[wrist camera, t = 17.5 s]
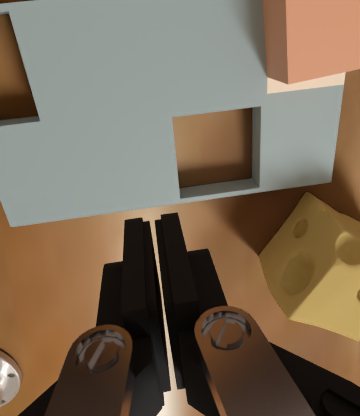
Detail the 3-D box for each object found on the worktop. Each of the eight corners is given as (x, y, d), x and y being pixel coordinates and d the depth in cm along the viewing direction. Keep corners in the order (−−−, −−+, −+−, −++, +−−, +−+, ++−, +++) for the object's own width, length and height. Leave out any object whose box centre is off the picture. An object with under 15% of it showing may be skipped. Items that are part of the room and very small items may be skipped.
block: (266, 77, 29) (288, 84, 25) (261, -20, 25) (284, -29, 22) (346, 59, 29) (379, 64, 25) (351, -39, 26) (390, -52, 22)
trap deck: (18, 214, 35) (10, 227, 32) (-56, 12, 26) (-74, 10, 24) (319, 173, 37) (331, 182, 34) (341, -27, 28) (358, -32, 26)
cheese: (304, 188, 37) (357, 236, 29) (371, 224, 41) (436, 277, 32) (251, 258, 41) (283, 320, 32) (316, 286, 45) (361, 348, 36)
